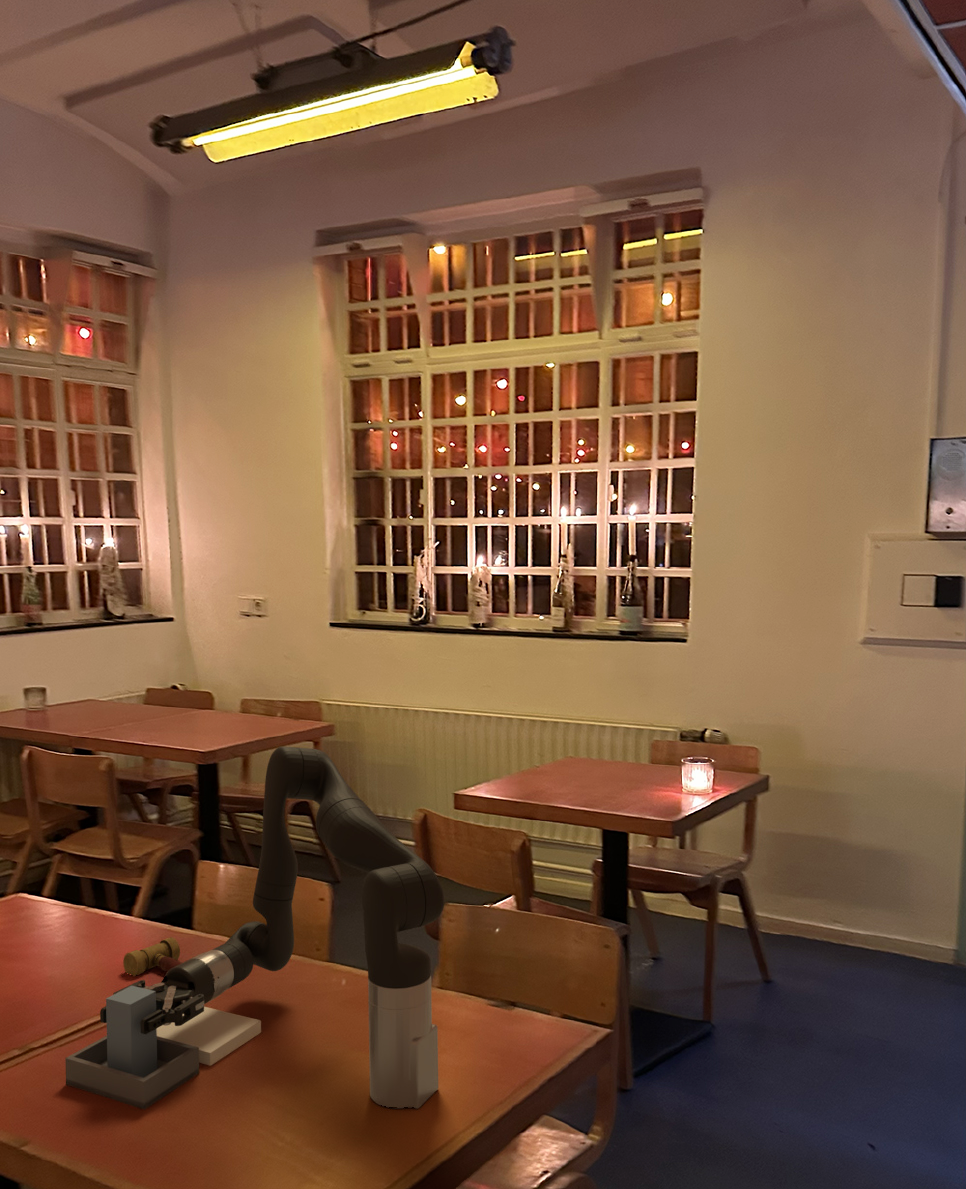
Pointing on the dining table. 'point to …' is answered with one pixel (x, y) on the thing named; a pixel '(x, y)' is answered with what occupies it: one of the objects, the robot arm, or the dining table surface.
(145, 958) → the gavel
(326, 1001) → the dining table surface
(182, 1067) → the tray
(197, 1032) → the bench board
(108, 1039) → the tile block
